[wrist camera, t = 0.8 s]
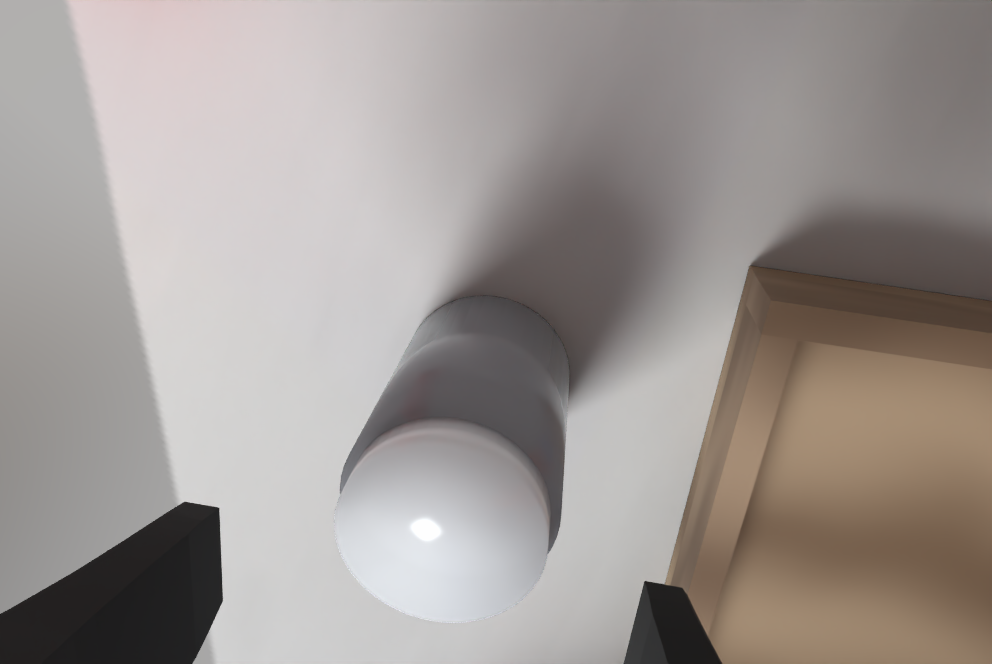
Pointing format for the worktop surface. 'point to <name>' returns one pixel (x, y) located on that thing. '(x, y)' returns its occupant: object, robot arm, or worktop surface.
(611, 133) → the worktop surface
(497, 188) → the worktop surface
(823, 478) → the walnut tray
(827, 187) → the worktop surface
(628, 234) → the worktop surface
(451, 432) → the cylinder
